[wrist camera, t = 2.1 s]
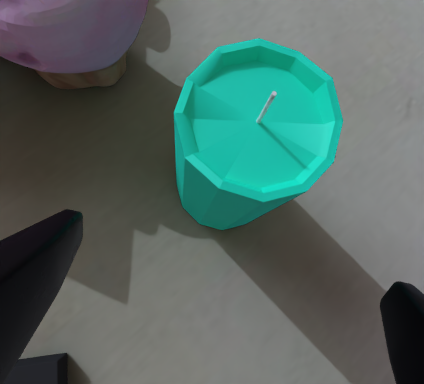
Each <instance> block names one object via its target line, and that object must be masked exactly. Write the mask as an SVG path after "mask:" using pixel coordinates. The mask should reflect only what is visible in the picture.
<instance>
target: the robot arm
mask: <svg viewBox="0 0 424 384" xmlns="http://www.w3.org/2000/svg"><path fill="white" fill-rule="evenodd" d="M82 237H83V216H82V213H81V212H78V211H74V210H69V209H66V210H63V211H61V212H59V213H57V214H55V215H53V216H51V217H49V218H47V219H44V220H42V221H40V222H38V223H36V224H34V225H32V226H30V227H28V228H26V229H24V230H22V231H19V232H17V233H15V234H13V235H11V236H9V237H7V238H5V239H3V240H1V241H0V384H4V383H5V381H6V379H7V378H8V376H9V374H10V373H11V371H12V369H13V368H14V366H15V364H16V363H17V361H18V359H19V358H20V356H21V354H22V353H23V351H24V349H25V348H26V346H27V344H28V343H29V341H30V339H31V337H32V336H33V334H34V332H35V331H36V329H37V327H38V326H39V324H40V322H41V321H42V319H43V317H44V316H45V314H46V312H47V311H48V309H49V307H50V306H51V304H52V302H53V301H54V299H55V297H56V295H57V294H58V292H59V290H60V288H61V286H62V284H63V281H64V279H65V277H66V275H67V273H68V270H69V268H70V266H71V264H72V262H73V259H74V257H75V255H76V253H77V250H78V248H79V246H80V244H81V241H82ZM380 310H381V315H382V321H383V326H384V332H385V338H386V343H387V349H388V354H389V359H390V363H391V366H392V370H393V374H394V377H395V381H396V384H424V294H423V293H422V292H420V291H419V290H418V289H417V288H416V287H415V286H413V285H412V284H409V283H404V282H399V281H398V282H395V283H394V284H393V285H392V286H391V287H390V289H389V290H388V291H387V292H386V294H385V295H384V296H383V298H382V299H381V302H380Z"/></svg>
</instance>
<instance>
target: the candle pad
mask: <svg viewBox="0 0 424 384" xmlns="http://www.w3.org/2000/svg"><path fill="white" fill-rule="evenodd" d="M4 384H68V379H67V353H62V354H55V355H47V356H40V357H33V358H26V359H19V360H18V361H17V363H16V364H15V366H14V368H13V369H12V371H11V373H10V374H9V376H8V378H7V379H6V381H5V383H4Z"/></svg>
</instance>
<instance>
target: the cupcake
mask: <svg viewBox="0 0 424 384" xmlns="http://www.w3.org/2000/svg"><path fill="white" fill-rule="evenodd" d="M147 4H148V0H0V56H1V57H3V58H5V59H7V60H9V61H12V62H14V63H17V64H20V65H22V66H25V67H29V68H33V69H34V70H35V71H36V72H37V73H38V74H39V75H40V76H41V77H42V78H43V79H44V80H46V81H47V82H48V83H50V84H51V85H53V86H55V87H57V88H60V89H78V88H86V87H92V86H101V87H108V86H111V85H114V84H115V83H116V82H117V80H119V79H120V78H121V77H122V75H123V74H124V73H125V71H126V55H127V52H128V48H129V47H130V46H131V45H132V43H133V42H134V40H135V38H136V37H137V34H138V31H139V28H140V26H141V24H142V22H143V19H144V17H145V13H146V9H147Z"/></svg>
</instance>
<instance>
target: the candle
mask: <svg viewBox="0 0 424 384" xmlns="http://www.w3.org/2000/svg"><path fill="white" fill-rule="evenodd" d="M342 124H343V118H342V114H341V110H340V106H339V102H338V98H337V94H336V90H335V86H334V82H333V78H332V77H331V76H329V75H328V74H327V73H325V72H324V71H323V70H322V69H320V68H319V67H318V66H317V65H315V64H314V63H313V62H312V61H310V60H309V59H308V58H307V57H305V56H304V55H303V54H301V53H300V52H298V51H296V50H293V49H290V48H287V47H284V46H281V45H278V44H275V43H272V42H269V41H266V40H263V39H260V38H258V39H253V40H249V41H244V42H239V43H234V44H229V45H224V46H220V47H217V48H216V49H215V50H214V51H213V52H212V53H211V54H210V55H209V56H208V57H207V58H206V59H205V60H204V61H203V62H202V63H201V64H200V65H199V66H198V67H197V68H196V69H195V70H194V71H193V72H192V73H191V74H190V75H189V76H188V77H187V78H186V81H185V83H184V86H183V89H182V92H181V94H180V97H179V100H178V102H177V105H176V108H175V111H174V130H175V157H176V184H177V188H178V192H179V196H180V200H181V204H182V207H183V208H184V209H185V210H186V211H187V212H188V213H189V214H190V215H191V216H192V217H193V218H194V219H195V220H196V221H197V222H198V223H199V224H201V225H205V226H209V227H212V228H216V229H219V230H225V229H229V228H233V227H237V226H241V225H244V224H247V223H249V222H250V221H252V220H254V219H256V218H258V217H260V216H262V215H263V214H265V213H267V212H269V211H271V210H273V209H275V208H277V207H278V206H280V205H282V204H284V203H286V202H288V201H290V200H291V199H293V198H295V197H297V196H299V195H301V194H303V193H305V192H306V191H308V189H309V188H310V187H311V186H312V185H313V184H314V183H315V182H316V181H317V180H318V179H319V177H320V176H321V175H322V174H323V173H324V172H325V171H326V170H327V169H328V168H329V167H330V166H331V164H332V163H333V162H334V158H335V154H336V150H337V145H338V141H339V137H340V132H341V128H342Z"/></svg>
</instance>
